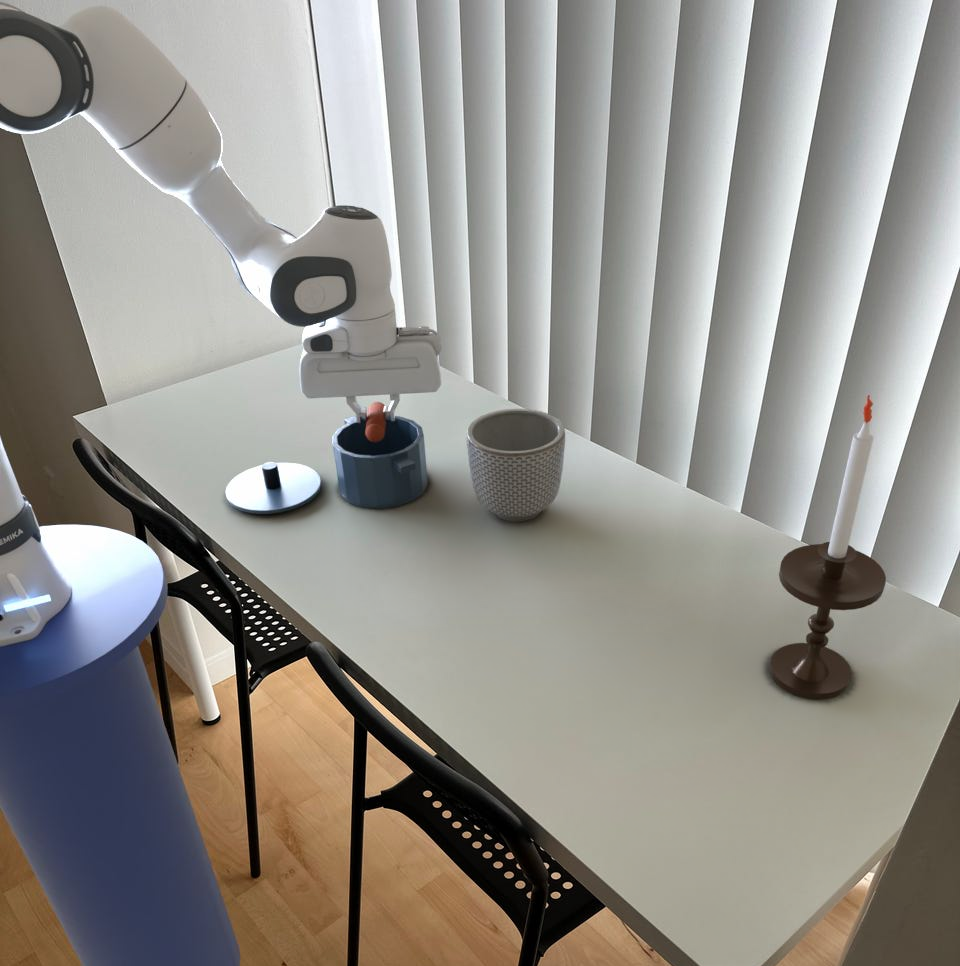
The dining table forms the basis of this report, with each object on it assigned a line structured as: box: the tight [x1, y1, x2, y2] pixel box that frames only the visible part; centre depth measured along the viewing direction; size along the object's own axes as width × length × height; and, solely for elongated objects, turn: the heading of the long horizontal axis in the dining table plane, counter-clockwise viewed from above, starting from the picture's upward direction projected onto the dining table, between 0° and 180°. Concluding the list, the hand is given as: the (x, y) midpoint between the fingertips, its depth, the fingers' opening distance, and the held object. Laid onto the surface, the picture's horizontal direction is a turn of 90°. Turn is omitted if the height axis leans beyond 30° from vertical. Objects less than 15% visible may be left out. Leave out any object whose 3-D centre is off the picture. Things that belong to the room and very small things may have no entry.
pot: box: [331, 415, 429, 509], centre depth 149 cm, size 14×19×8 cm
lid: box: [225, 461, 322, 515], centre depth 150 cm, size 15×15×5 cm
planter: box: [465, 408, 566, 523], centre depth 141 cm, size 14×14×13 cm
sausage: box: [365, 401, 386, 442], centre depth 145 cm, size 10×3×3 cm
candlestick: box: [768, 394, 887, 701], centre depth 103 cm, size 11×11×35 cm
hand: (376, 420), depth 145 cm, fingers closed on sausage, 3 cm apart
